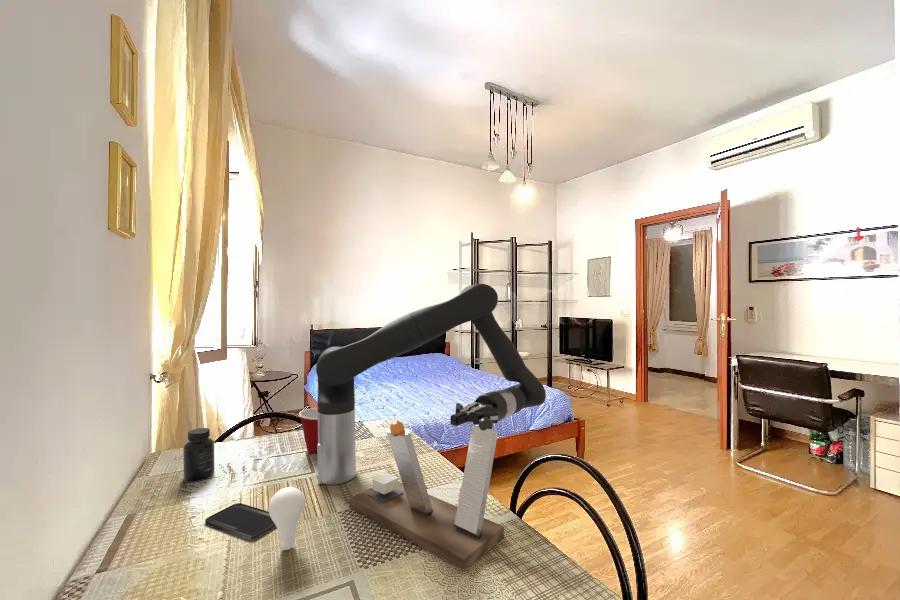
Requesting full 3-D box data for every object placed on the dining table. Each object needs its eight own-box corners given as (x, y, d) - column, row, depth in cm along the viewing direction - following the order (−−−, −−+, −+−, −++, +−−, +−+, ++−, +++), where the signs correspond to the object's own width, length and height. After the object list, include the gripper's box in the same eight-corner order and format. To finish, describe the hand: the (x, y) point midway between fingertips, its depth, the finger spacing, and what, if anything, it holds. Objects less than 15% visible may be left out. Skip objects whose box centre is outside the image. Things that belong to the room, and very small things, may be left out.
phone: (237, 502, 86) (286, 516, 80) (237, 507, 86) (286, 522, 80) (202, 520, 79) (252, 538, 73) (202, 525, 79) (252, 544, 73)
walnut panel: (391, 486, 94) (391, 477, 94) (504, 536, 73) (503, 524, 73) (349, 507, 85) (349, 496, 85) (464, 571, 64) (464, 556, 64)
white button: (386, 486, 89) (386, 472, 89) (398, 491, 86) (398, 477, 86) (372, 492, 86) (372, 479, 86) (384, 498, 83) (384, 484, 83)
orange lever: (416, 500, 82) (390, 415, 77) (436, 509, 78) (410, 421, 73) (407, 510, 80) (380, 423, 75) (427, 519, 76) (399, 429, 71)
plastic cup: (330, 458, 112) (329, 416, 112) (293, 458, 112) (292, 417, 112) (341, 444, 123) (340, 406, 123) (307, 444, 123) (307, 406, 123)
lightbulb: (292, 562, 67) (291, 498, 67) (261, 558, 68) (260, 495, 68) (312, 540, 73) (311, 482, 73) (283, 537, 74) (282, 479, 74)
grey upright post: (459, 526, 74) (479, 415, 79) (483, 537, 70) (502, 420, 76) (450, 527, 72) (471, 414, 77) (474, 539, 68) (495, 419, 74)
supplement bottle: (177, 480, 100) (176, 433, 100) (202, 469, 106) (202, 425, 106) (195, 484, 97) (194, 436, 97) (220, 473, 103) (220, 427, 103)
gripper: (475, 387, 105) (431, 399, 92) (518, 395, 96) (476, 409, 83) (475, 415, 105) (431, 431, 92) (518, 425, 96) (476, 444, 83)
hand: (453, 420), depth 87 cm, fingers closed
